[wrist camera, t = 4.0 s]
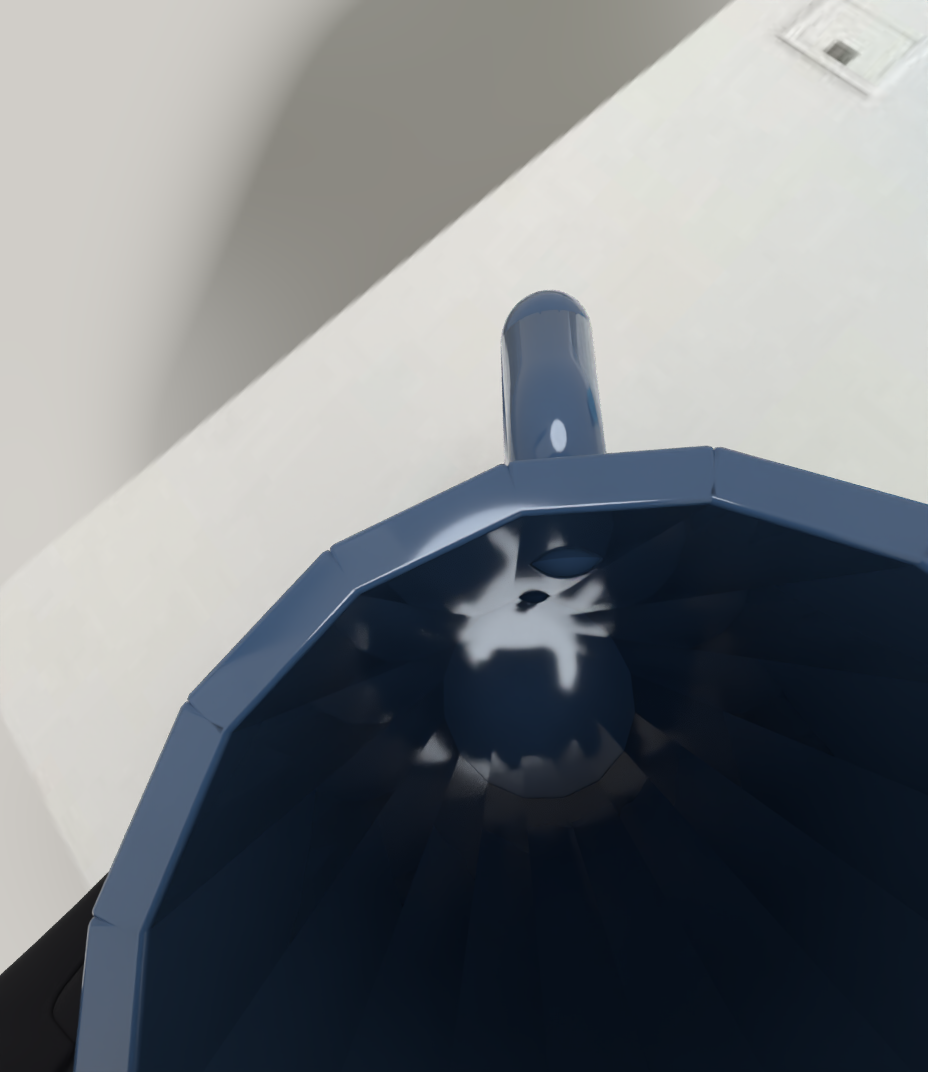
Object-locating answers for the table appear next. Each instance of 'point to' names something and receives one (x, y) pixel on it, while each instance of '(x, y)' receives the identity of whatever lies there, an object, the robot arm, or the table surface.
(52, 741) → the table surface
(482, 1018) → the mug
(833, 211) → the table surface
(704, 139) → the table surface
